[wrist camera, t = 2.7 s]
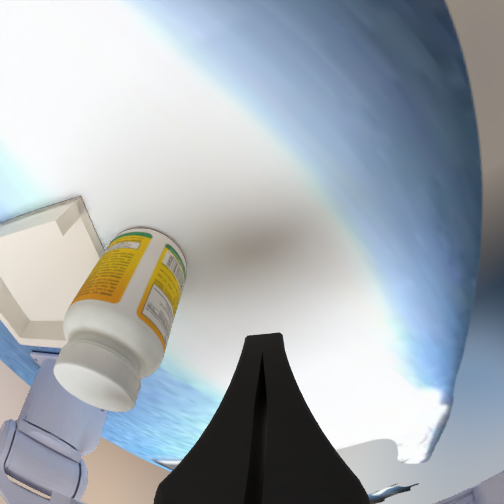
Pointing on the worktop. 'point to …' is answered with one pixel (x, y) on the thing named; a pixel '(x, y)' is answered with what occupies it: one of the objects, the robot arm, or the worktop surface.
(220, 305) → the worktop surface
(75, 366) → the supplement bottle
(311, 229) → the worktop surface
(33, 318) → the tray
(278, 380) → the robot arm
